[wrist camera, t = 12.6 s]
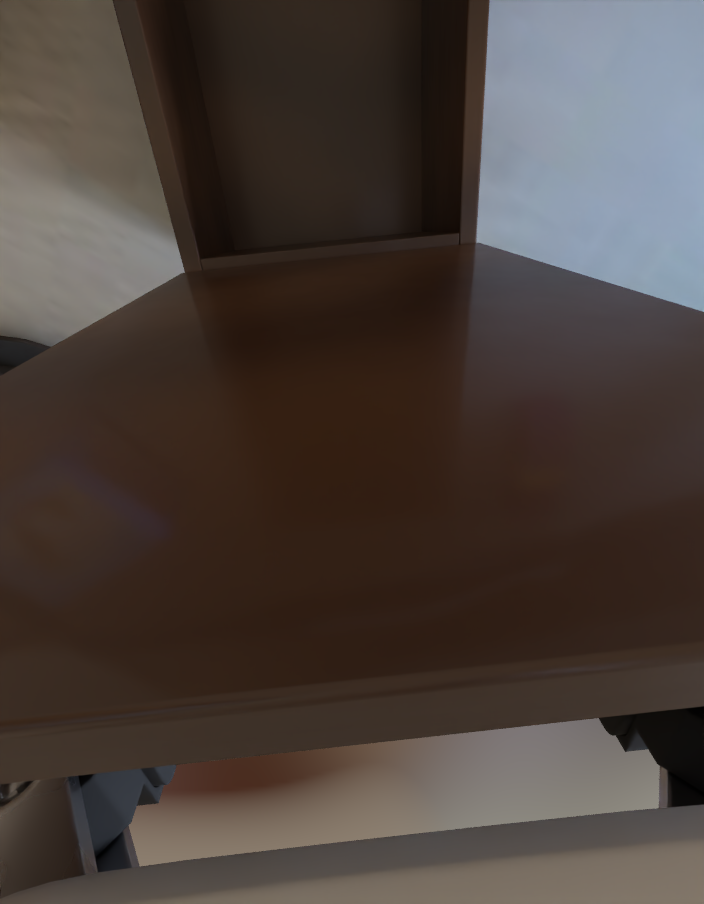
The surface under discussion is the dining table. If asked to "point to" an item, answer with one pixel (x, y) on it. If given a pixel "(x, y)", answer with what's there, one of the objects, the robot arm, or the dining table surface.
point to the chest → (311, 123)
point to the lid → (349, 512)
